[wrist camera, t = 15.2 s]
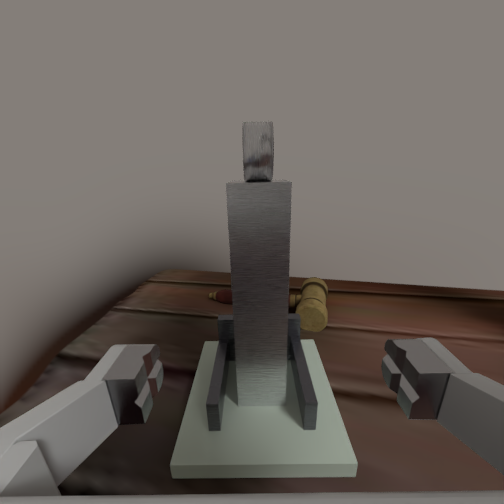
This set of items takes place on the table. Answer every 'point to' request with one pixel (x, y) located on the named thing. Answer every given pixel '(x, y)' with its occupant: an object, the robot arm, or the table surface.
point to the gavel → (299, 303)
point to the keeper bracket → (261, 419)
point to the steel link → (260, 270)
